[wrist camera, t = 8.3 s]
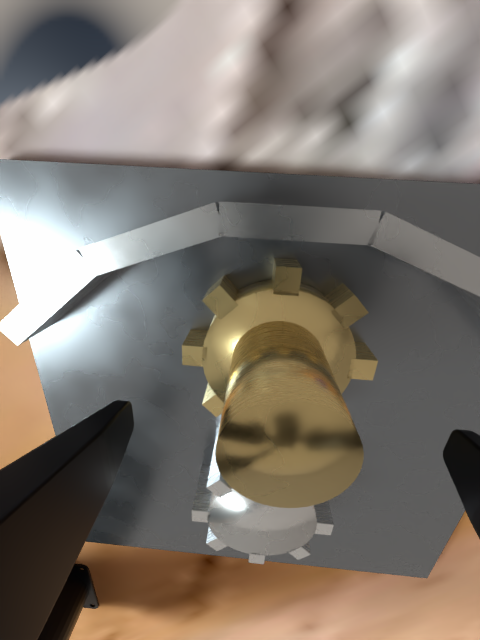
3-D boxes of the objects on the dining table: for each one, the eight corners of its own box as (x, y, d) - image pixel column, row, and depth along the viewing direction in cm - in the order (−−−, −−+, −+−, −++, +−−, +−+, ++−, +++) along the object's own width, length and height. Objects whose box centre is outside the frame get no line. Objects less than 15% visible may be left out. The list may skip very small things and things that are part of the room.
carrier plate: (419, 560, 19) (451, 632, 16) (92, 525, 20) (60, 587, 17) (609, 193, 10) (770, 189, 7) (2, 161, 11) (-101, 145, 8)
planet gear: (345, 419, 14) (402, 565, 8) (191, 406, 14) (147, 537, 9) (384, 265, 11) (515, 332, 5) (189, 252, 11) (118, 303, 6)
